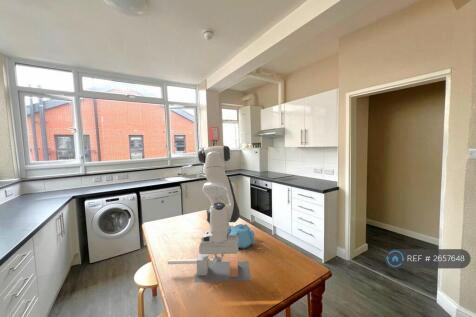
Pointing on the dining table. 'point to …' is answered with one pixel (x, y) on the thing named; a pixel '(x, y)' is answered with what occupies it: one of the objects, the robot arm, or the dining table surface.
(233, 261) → the salmon orange rectangular block
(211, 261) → the bar
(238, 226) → the decorative pot
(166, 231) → the dining table surface
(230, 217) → the robot arm
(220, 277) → the board
